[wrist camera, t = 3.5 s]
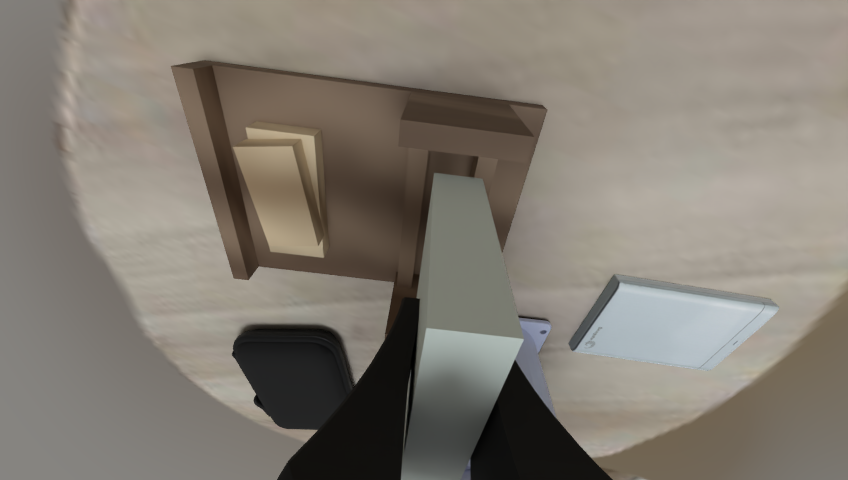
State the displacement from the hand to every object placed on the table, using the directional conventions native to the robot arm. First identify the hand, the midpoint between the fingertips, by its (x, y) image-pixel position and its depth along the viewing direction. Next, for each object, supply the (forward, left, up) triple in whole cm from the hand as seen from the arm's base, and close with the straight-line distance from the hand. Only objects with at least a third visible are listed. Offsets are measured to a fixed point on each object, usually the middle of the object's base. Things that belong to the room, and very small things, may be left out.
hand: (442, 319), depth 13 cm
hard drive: (-8, -19, -11) cm, 24 cm away
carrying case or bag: (-21, +11, -10) cm, 26 cm away
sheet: (0, 0, -4) cm, 4 cm away
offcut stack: (0, +9, -9) cm, 13 cm away
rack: (0, +5, -10) cm, 11 cm away
